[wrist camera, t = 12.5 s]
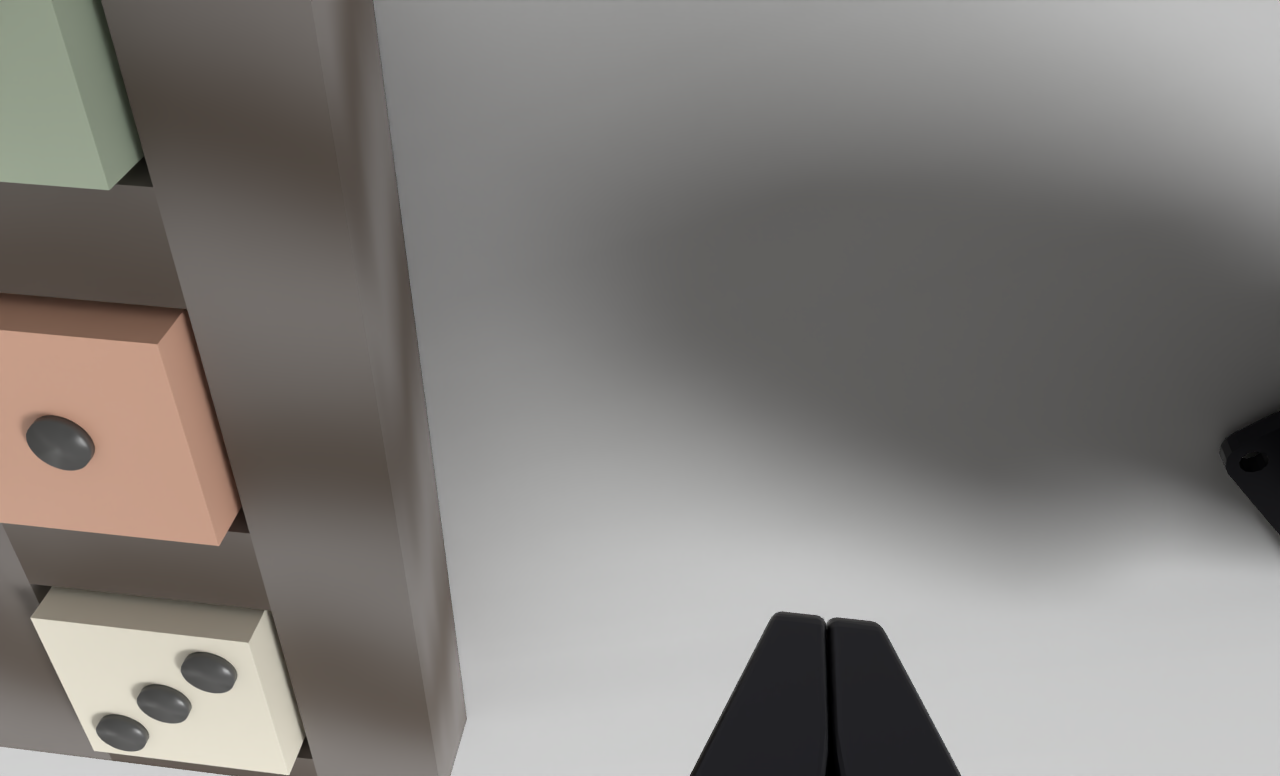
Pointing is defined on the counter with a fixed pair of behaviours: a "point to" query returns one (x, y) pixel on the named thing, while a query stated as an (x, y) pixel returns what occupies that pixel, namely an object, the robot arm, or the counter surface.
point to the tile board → (261, 376)
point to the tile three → (174, 678)
